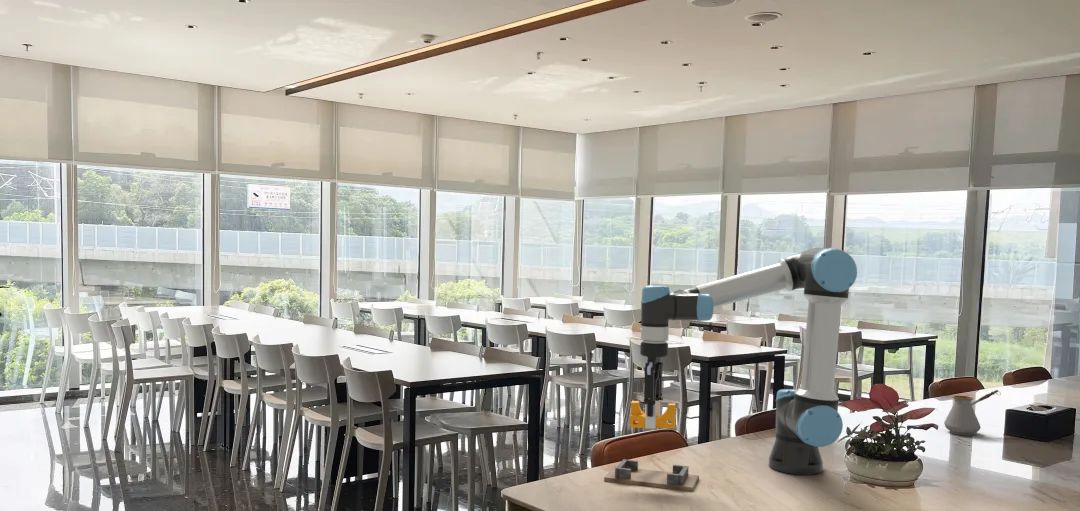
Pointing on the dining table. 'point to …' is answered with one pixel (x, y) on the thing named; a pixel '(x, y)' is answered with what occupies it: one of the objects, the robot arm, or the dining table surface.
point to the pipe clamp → (660, 420)
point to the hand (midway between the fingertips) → (652, 425)
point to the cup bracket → (652, 476)
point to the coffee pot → (964, 415)
